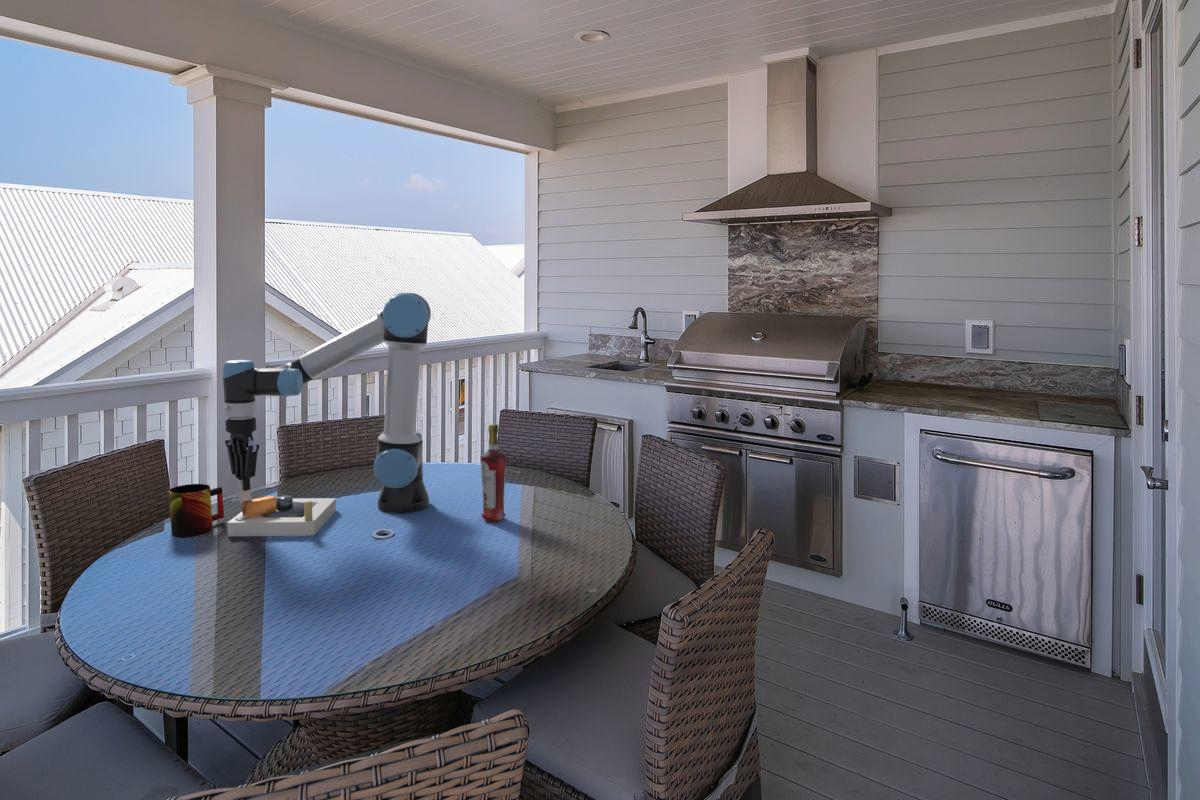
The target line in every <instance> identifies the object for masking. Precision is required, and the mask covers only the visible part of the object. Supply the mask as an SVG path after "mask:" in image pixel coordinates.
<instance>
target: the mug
mask: <svg viewBox="0 0 1200 800" xmlns="http://www.w3.org/2000/svg"><path fill="white" fill-rule="evenodd" d="M214 496H216V497H217V500H216V501H217V513H214V514H212V513H213V510H212V497H214ZM168 502H169V516H170V528H171V536H172V537H173V538H178V539H188V538H190V537H191V538H197V537H201V535H202V536H205V535H207V533H208V534H210V533H212V531H213V530H214V529H213V528H214V527H213V526H214V525H213V522H215V521H218V520H221V519H223V518H225V511H224V509H225V507H224V498H223V487H222V486H218V487H216V488H212V489H211V486H210V485H209V484H205V483H190V484H189V483H188V484H183V485H177V486H174V487H172V488H169V489H168ZM209 532H210V533H209ZM204 534H205V535H204ZM196 536H197V537H196Z"/></svg>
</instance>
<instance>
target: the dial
mask: <svg viewBox="0 0 1200 800" xmlns="http://www.w3.org/2000/svg"><path fill="white" fill-rule="evenodd" d="M293 498H294V497H293V496H292V495H280V496H277V497H275V496H273V495H267V496H262V497H258V498H254V499H253V498H252V499H251V500H247V501H242V503H241V510H242V511H241V512H242V513H243V516H244V517H246V518H248V517H253V516H257V515H261V518H283V517H303V516H304V503H302V502H293Z"/></svg>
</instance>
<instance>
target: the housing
mask: <svg viewBox="0 0 1200 800" xmlns="http://www.w3.org/2000/svg"><path fill="white" fill-rule="evenodd" d="M293 502H302V503H304V516H303V517H283V518H261V515H257V516H253V517H248V518H246V517H244V516H243V513H242V511H241V512H239V513H238V514H237V515H236V516H234V517H233V518H232V519H230V520H229V521H227V522H226V524H227V525H226V526H227V527H226V528H227V537H291V536H292V537H299V536H300V537H301V536H302V537H303V536H304V537H305V536H306V537H307V536H308V537H309V536H311V535H312V536H315V535H316V534H317V533H318V532H319V531H320V529H321V528H322V527H323V526H324V525H326V522H328V520H329V519H330V518H331V517H332V516H333V515H334V514H335V513H336V512H337V498H336V497H335V498H333V497H331V498H327V497H325V498H322V497H319V498H318V497H317V498H315V497H314V498H313V497H311V498H309V497H307V498H294V497H293Z"/></svg>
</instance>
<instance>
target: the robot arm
mask: <svg viewBox="0 0 1200 800" xmlns="http://www.w3.org/2000/svg"><path fill="white" fill-rule="evenodd" d="M431 316H432V313H431V307H430V305H429V303H428V301H427V300H426V298H424V297H422V296H421V295H419V294H417V293H415V292H414V293H413V292H399V293H397V294H394V295H392V297H390V298H389V299H388V300H387V301H386V302H385V304H384V307H383V308H382V309H380V310H378V311H377V314H376V316H374V317H372V318H370V319H368V320H367V321H364V322H363V323H361V324H359V325H357V326H355V327H353V328H351V329H349V330H347V331H346V332H343V333H341V334H340V335H337V336H336V337H334V338H332V339H330V340H328V341H326V342H325V343H322V344H321V345H319V346H317V347H315V348H313V349H311V350H310V351H308V352H306V353H304V354H302V355H300V356H299V357H296V358H294V359H292V360H290V361H289V362H287V363H285V364H282V365H280V366H278V367H269V368H268V367H267V368H266V367H263V368H262V367H255V364H254V363H255V362H253V360H248V359H231V360H230V359H229V360H226V361H225V362H224V363H223V366H222V368H223V369H222V382H223V384H222V385H223V395H224V396H223V397H224V399H223V400H224V407H223V410H224V415H225V417H226V418H225V420H224V421H225V431H226V433H229V434H230V435H229V439H225V440H224V443H225V447H226V448H227V453H228V458H229V465H230V470H231V472H230V473H231V474H232V475H233V476H235V478H236V480H237V481H236V482H237V497H238V498H237V500H238V502H239V503H241V504H242V501H247V500H252V499H251V498H252V497H251V478H255V477H256V471H257V459H258V452H259V449H260V444H255V443H254V436H253V432H255V431H257V418H256V417H255V416H256V415H257V411H256V410H257V408H256V406H257V405H256V396H257V397H258V396H259V397H260V396H261V397H262V396H264V397H265V396H267V397H269V396H274V397H278V396H279V397H285V398H286V397H291V396H292V397H294V396H299V395H301V393H302V390H303V386H304V385H305V384H307V383H309V382H311V381H312V380H314V379H316V378H319V377H320V376H322V375H324V374H326V373H328V372H330V371H332V370H334V369H335V368H337V367H339V366H341V365H343V364H345V363H347V362H349V361H350V360H353V359H355V358H357V357H358V356H361V355H362V354H364V353H366V352H368V351H370V350H372V349H374V348H375V347H377V346H379V345H381V344H383V343H385V344H386V345H387V346H388V351H387V352H388V357H387V370H386V371H387V372H386V373H387V374H386V387H385V403H384V404H385V406H384V420H383V421H384V423H383V432H382V433H381V434H380V435H379V436H377V444H376V457H375V460H374V462H373V473H374V476H375V478H376V479H377V481H378V482H379V483H380V484H382V486H381V489H380V493H379V496H378V500H377V508H378V510H380V511H382V512H384V513H388V514H389V513H391V514H407V513H408V514H409V513H413V512H420V511H422V510H425V509H427V508H428V507H430V496H429V493H428V491H427V488H426V486H425V483H424V482H425V481H424V478H423V477H424V469H423V467H424V466H423V461H424V460H423V443H424V442H423V435H422V433H420V432H419V431H416V423H417V412H418V411H417V410H418V409H417V408H418V399H419V398H418V397H419V396H418V395H419V394H418V393H419V381H420V365H421V364H420V363H421V351H422V349H423V348H424V347H425V346H426V345H427V343H428V331H429V329H428V328H429V322H430V320H431Z"/></svg>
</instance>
